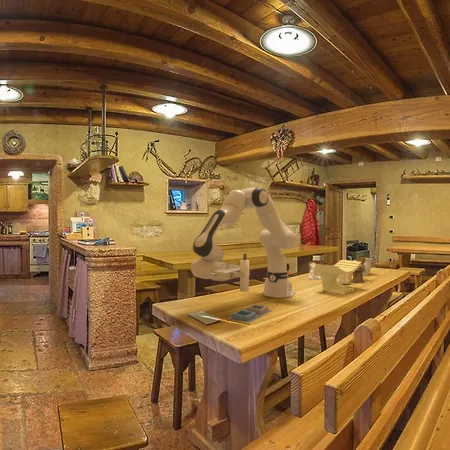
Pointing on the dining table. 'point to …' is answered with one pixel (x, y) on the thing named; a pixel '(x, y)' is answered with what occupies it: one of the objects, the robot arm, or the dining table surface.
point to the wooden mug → (358, 272)
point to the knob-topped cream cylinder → (244, 269)
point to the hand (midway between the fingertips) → (246, 274)
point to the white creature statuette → (311, 274)
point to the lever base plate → (250, 313)
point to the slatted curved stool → (335, 275)
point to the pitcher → (366, 266)
